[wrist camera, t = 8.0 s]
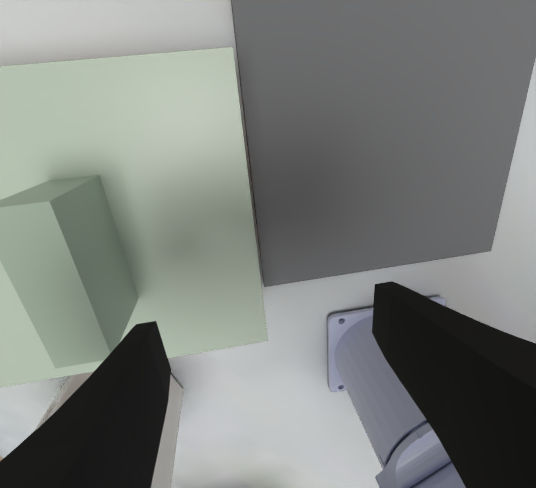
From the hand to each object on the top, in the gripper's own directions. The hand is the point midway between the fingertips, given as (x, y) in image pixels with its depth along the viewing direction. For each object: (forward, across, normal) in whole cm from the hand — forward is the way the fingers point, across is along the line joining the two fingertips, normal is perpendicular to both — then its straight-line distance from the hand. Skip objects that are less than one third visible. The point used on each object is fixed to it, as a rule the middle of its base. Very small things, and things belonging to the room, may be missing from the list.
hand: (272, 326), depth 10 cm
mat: (+10, -9, -4) cm, 14 cm away
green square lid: (+6, +7, -2) cm, 9 cm away
